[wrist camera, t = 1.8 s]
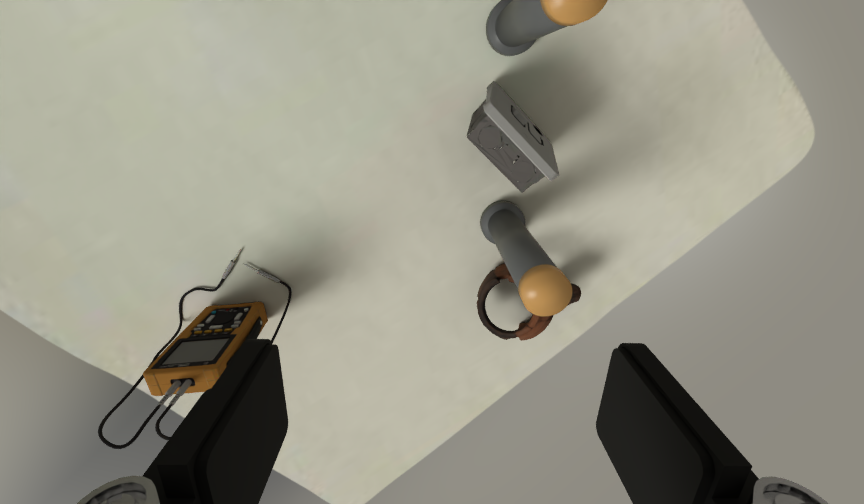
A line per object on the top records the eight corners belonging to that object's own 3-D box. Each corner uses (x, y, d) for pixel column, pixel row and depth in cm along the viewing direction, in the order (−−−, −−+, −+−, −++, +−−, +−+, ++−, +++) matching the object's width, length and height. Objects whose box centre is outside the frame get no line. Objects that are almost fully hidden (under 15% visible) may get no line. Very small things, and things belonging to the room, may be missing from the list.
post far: (480, 201, 46) (516, 265, 29) (524, 200, 46) (584, 263, 30) (479, 241, 48) (512, 324, 31) (521, 240, 48) (576, 321, 31)
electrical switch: (551, 143, 44) (575, 163, 36) (515, 176, 46) (530, 203, 37) (493, 79, 41) (504, 85, 33) (457, 117, 43) (459, 132, 35)
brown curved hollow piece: (502, 338, 54) (486, 357, 46) (478, 272, 55) (458, 280, 47) (593, 313, 49) (591, 329, 42) (564, 241, 50) (558, 244, 43)
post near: (486, -2, 38) (539, -69, 22) (538, -3, 39) (630, -70, 22) (485, 56, 40) (532, 35, 24) (534, 55, 40) (616, 33, 24)
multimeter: (281, 244, 47) (194, 345, 29) (298, 317, 51) (231, 447, 33) (157, 254, 47) (-10, 361, 29) (183, 326, 51) (51, 462, 33)
